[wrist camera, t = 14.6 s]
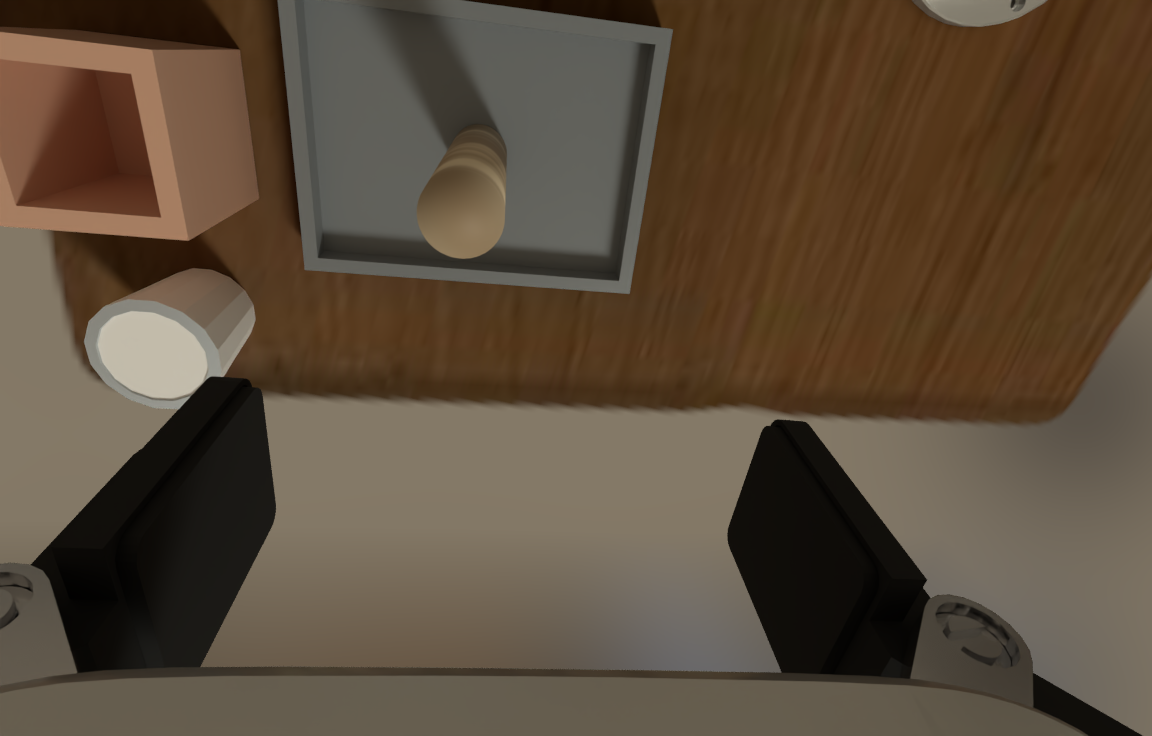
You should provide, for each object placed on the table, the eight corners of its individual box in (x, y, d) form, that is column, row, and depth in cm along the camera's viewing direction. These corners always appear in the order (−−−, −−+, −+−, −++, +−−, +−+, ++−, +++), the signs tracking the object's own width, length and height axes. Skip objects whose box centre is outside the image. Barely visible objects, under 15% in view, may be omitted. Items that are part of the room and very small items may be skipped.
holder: (239, 49, 32) (152, 50, 24) (259, 198, 36) (188, 240, 28) (76, 29, 31) (-70, 23, 23) (114, 185, 35) (-2, 225, 27)
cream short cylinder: (151, 245, 37) (80, 284, 31) (270, 275, 38) (224, 318, 32) (150, 342, 40) (84, 395, 33) (260, 366, 41) (217, 421, 35)
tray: (662, 30, 34) (672, 29, 32) (622, 280, 41) (629, 293, 39) (291, -21, 31) (274, -26, 29) (316, 257, 38) (304, 269, 36)
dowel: (471, 111, 34) (447, 152, 21) (517, 148, 35) (522, 208, 22) (441, 158, 35) (400, 224, 22) (486, 192, 36) (473, 274, 23)
